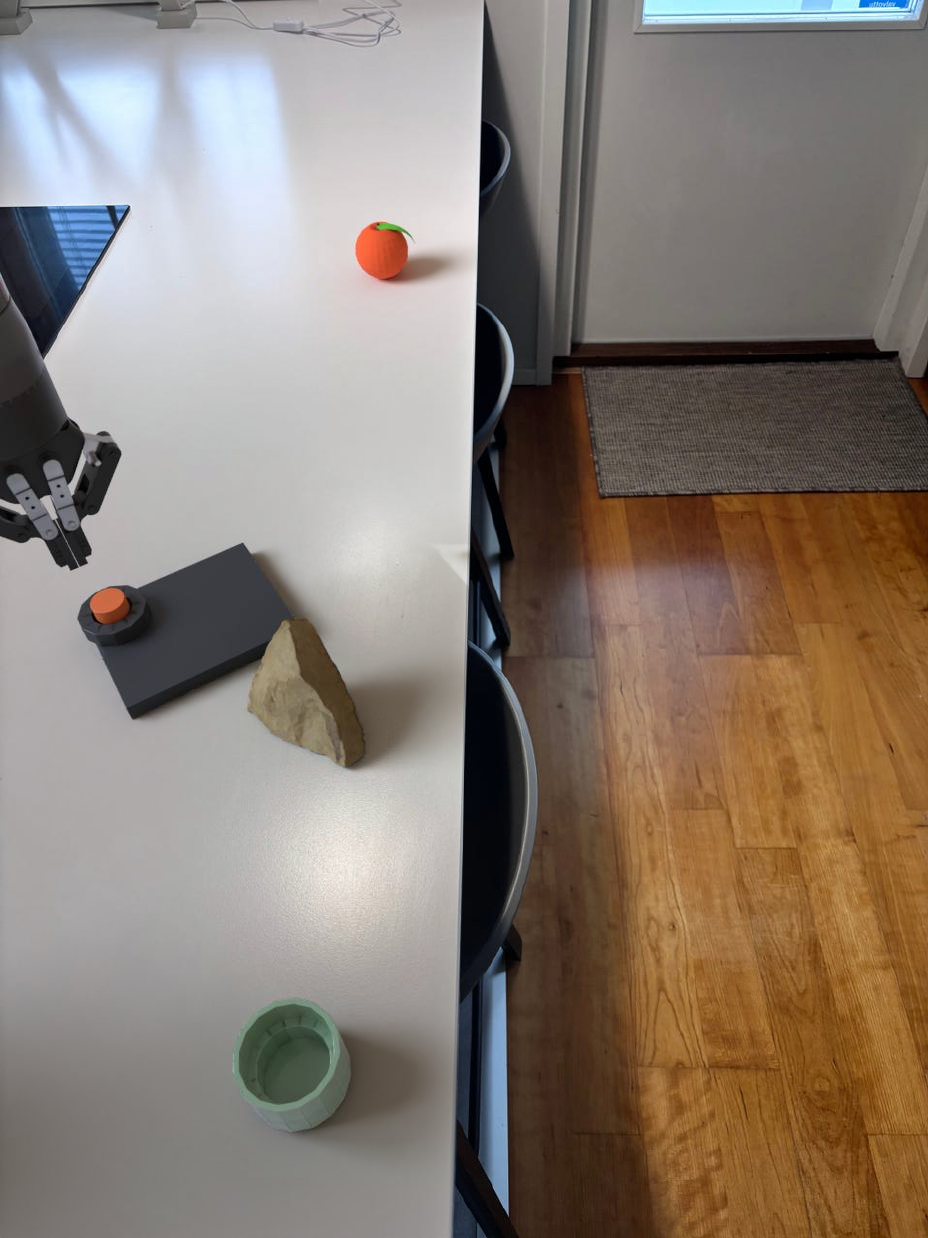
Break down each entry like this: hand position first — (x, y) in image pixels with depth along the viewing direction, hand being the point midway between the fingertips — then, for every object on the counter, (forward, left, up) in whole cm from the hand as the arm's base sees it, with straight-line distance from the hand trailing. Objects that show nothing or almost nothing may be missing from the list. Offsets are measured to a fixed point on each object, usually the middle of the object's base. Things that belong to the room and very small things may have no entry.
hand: (76, 561), depth 75 cm
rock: (+10, -16, -13) cm, 23 cm away
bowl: (-2, -40, -13) cm, 42 cm away
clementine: (+51, +45, -13) cm, 69 cm away
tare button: (+1, +4, -10) cm, 10 cm away
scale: (+6, 0, -13) cm, 14 cm away
